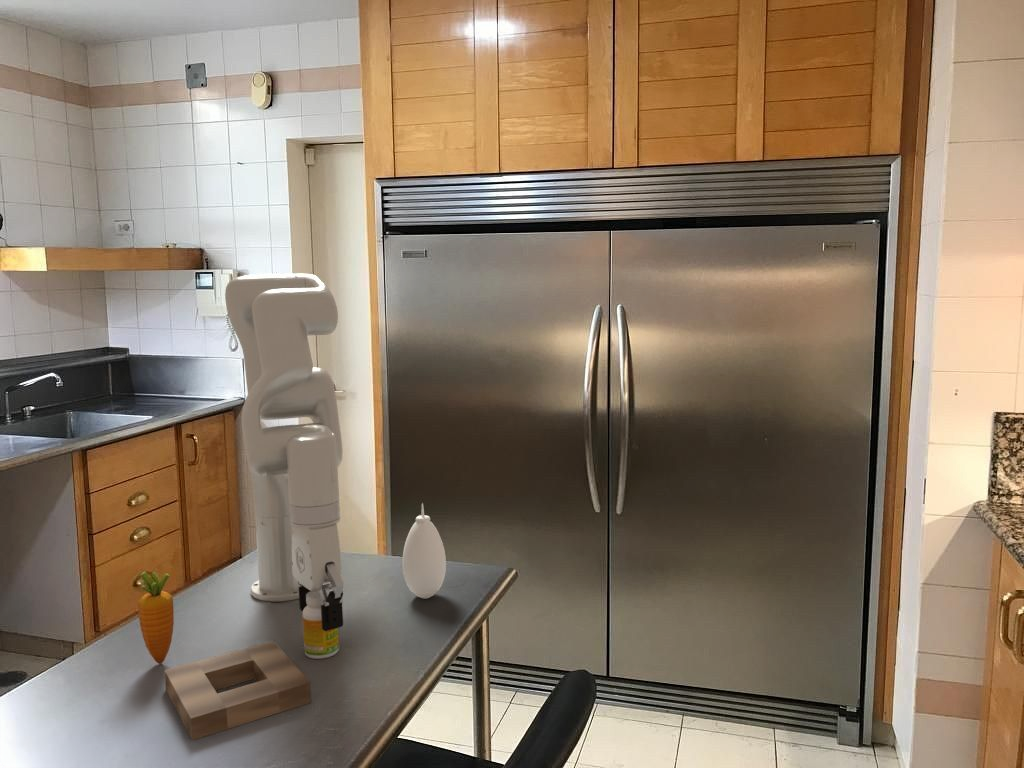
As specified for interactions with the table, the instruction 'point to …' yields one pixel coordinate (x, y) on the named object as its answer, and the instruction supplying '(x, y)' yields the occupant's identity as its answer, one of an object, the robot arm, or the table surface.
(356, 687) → the table surface
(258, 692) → the bore block
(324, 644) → the supplement bottle
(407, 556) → the white air blower bulb
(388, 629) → the table surface
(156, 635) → the carrot
